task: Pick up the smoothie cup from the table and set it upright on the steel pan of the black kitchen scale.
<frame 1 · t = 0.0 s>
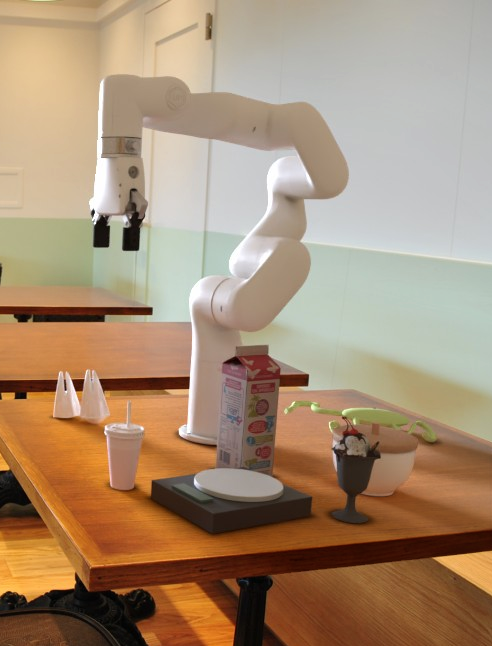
hand: (115, 249, 147), 37 cm above the table, tool pointing down, fingers open, 9 cm apart
scale: (228, 507, 125), on the table
lidded bowl: (369, 490, 135), on the table
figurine: (355, 435, 167), on the table
shaker set: (80, 421, 173), on the table
juice carton: (243, 474, 141), on the table
smoothie: (122, 487, 133), on the table
sundae: (349, 518, 122), on the table
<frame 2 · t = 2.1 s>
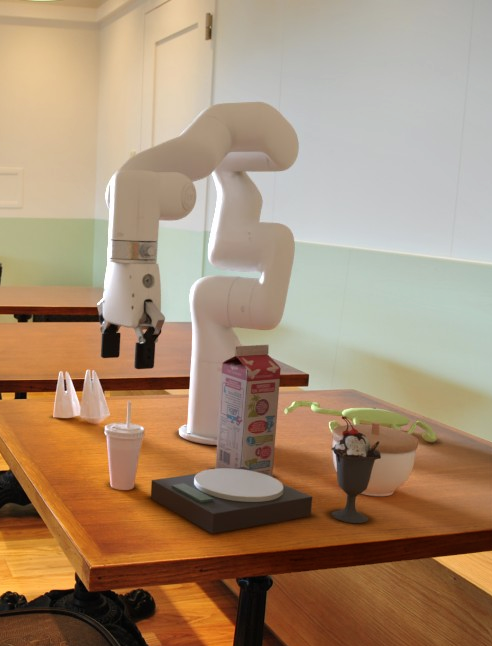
hand: (126, 362, 130), 20 cm above the table, tool pointing down, fingers open, 9 cm apart
nothing on the table moved.
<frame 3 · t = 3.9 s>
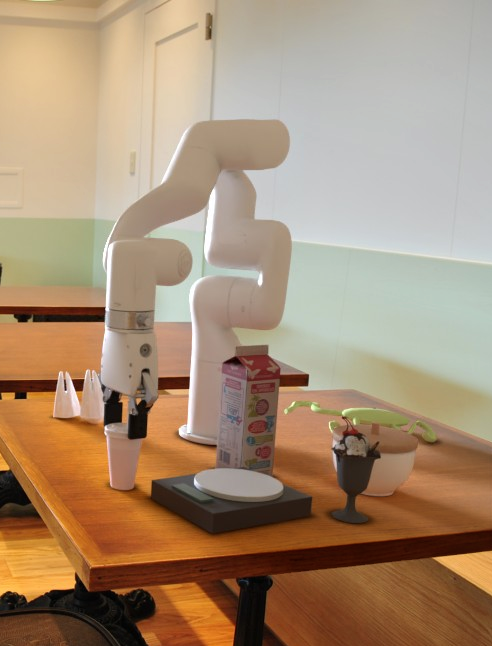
hand: (124, 431, 132), 9 cm above the table, tool pointing down, fingers closed on smoothie, 6 cm apart
smoothie: (122, 487, 133), on the table, touching gripper
everything else where it was.
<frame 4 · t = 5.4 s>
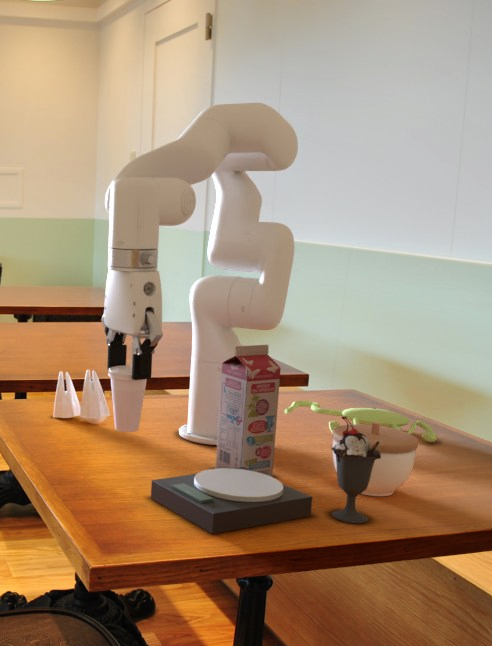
hand: (128, 373, 131), 18 cm above the table, tool pointing down, fingers closed on smoothie, 6 cm apart
smoothie: (126, 430, 132), point 9 cm above the table, touching gripper
everything else where it was.
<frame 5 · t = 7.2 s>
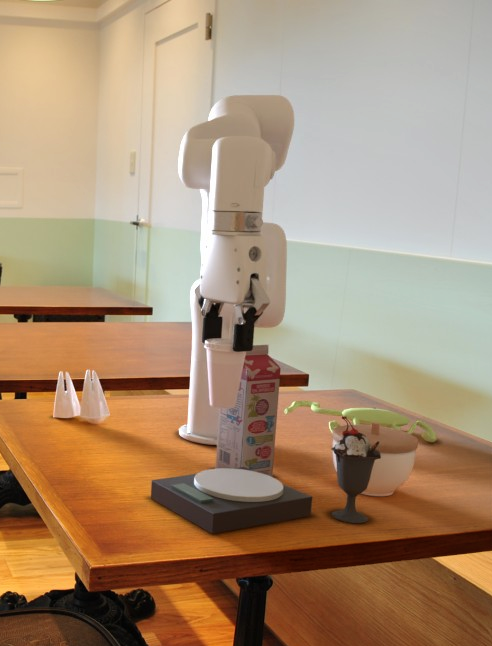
hand: (226, 345, 123), 24 cm above the table, tool pointing down, fingers closed on smoothie, 6 cm apart
smoothie: (222, 406, 124), point 15 cm above the table, touching gripper
everything else where it was.
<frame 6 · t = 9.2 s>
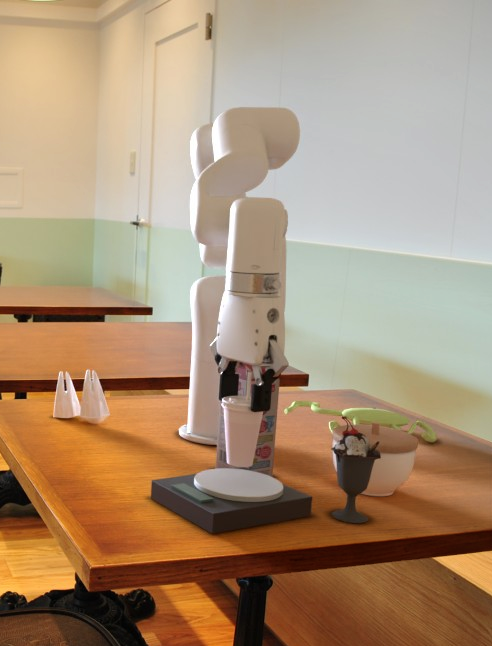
hand: (243, 404, 123), 16 cm above the table, tool pointing down, fingers closed on smoothie, 6 cm apart
smoothie: (239, 464, 124), point 7 cm above the table, touching gripper
everything else where it was.
when the fingers open (13 cm above the table, at t = 10.6 s): smoothie stays where it is, resting on scale.
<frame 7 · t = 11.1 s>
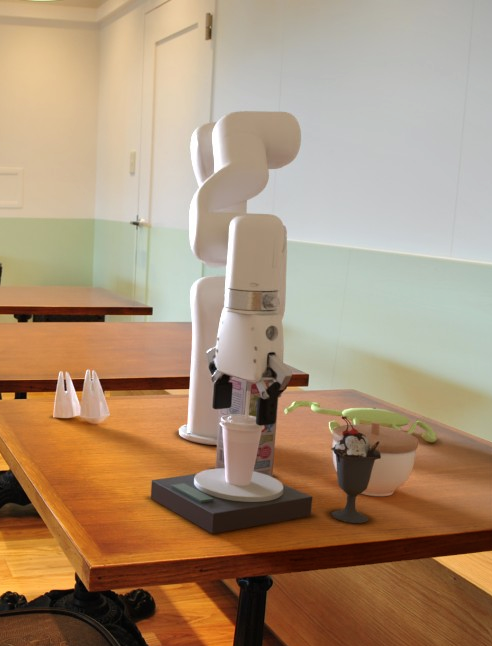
hand: (242, 416, 123), 14 cm above the table, tool pointing down, fingers open, 9 cm apart
smoothie: (238, 482, 125), point 4 cm above the table, touching scale
everything else where it was.
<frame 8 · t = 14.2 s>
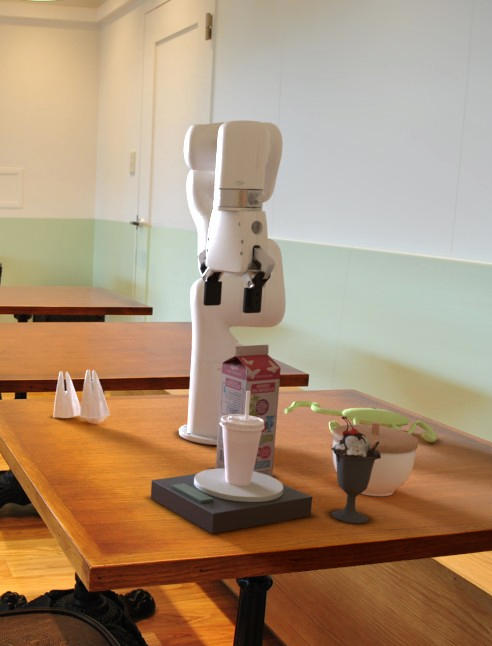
hand: (231, 308, 134), 28 cm above the table, tool pointing down, fingers open, 9 cm apart
nothing on the table moved.
at the end: smoothie inside the target area on the scale (0.1 cm from its centre), point 3.6 cm above the scale's base; smoothie tilted 0°; the gripper is holding nothing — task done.
